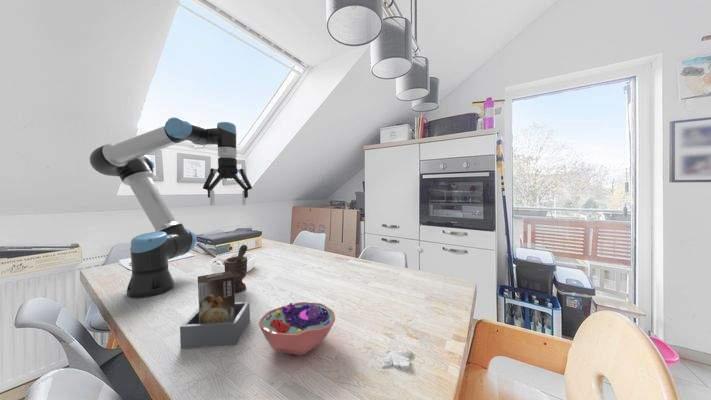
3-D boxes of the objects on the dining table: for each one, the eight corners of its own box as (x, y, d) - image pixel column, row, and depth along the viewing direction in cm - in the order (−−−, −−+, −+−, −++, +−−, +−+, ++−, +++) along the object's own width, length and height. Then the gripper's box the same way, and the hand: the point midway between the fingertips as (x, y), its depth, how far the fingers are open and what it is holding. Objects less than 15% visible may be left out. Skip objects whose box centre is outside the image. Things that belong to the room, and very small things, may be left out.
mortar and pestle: (258, 288, 107) (257, 241, 105) (243, 296, 98) (242, 246, 97) (235, 284, 110) (234, 239, 109) (220, 292, 102) (218, 244, 101)
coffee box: (233, 320, 79) (232, 270, 78) (236, 329, 74) (235, 276, 73) (199, 329, 74) (197, 275, 73) (199, 340, 69) (197, 282, 68)
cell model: (269, 329, 76) (268, 293, 75) (335, 327, 77) (335, 291, 76) (249, 370, 59) (248, 324, 58) (334, 367, 60) (335, 321, 60)
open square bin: (180, 348, 67) (179, 326, 66) (203, 322, 79) (203, 304, 79) (235, 344, 68) (235, 323, 68) (249, 319, 81) (249, 301, 81)
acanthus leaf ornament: (411, 355, 66) (411, 348, 66) (413, 374, 59) (413, 366, 59) (382, 351, 67) (383, 344, 67) (381, 370, 60) (381, 362, 60)
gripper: (193, 156, 107) (194, 205, 108) (254, 157, 110) (254, 205, 111) (201, 158, 114) (202, 204, 115) (258, 159, 117) (259, 204, 118)
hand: (228, 205), depth 113 cm, fingers open, 13 cm apart
